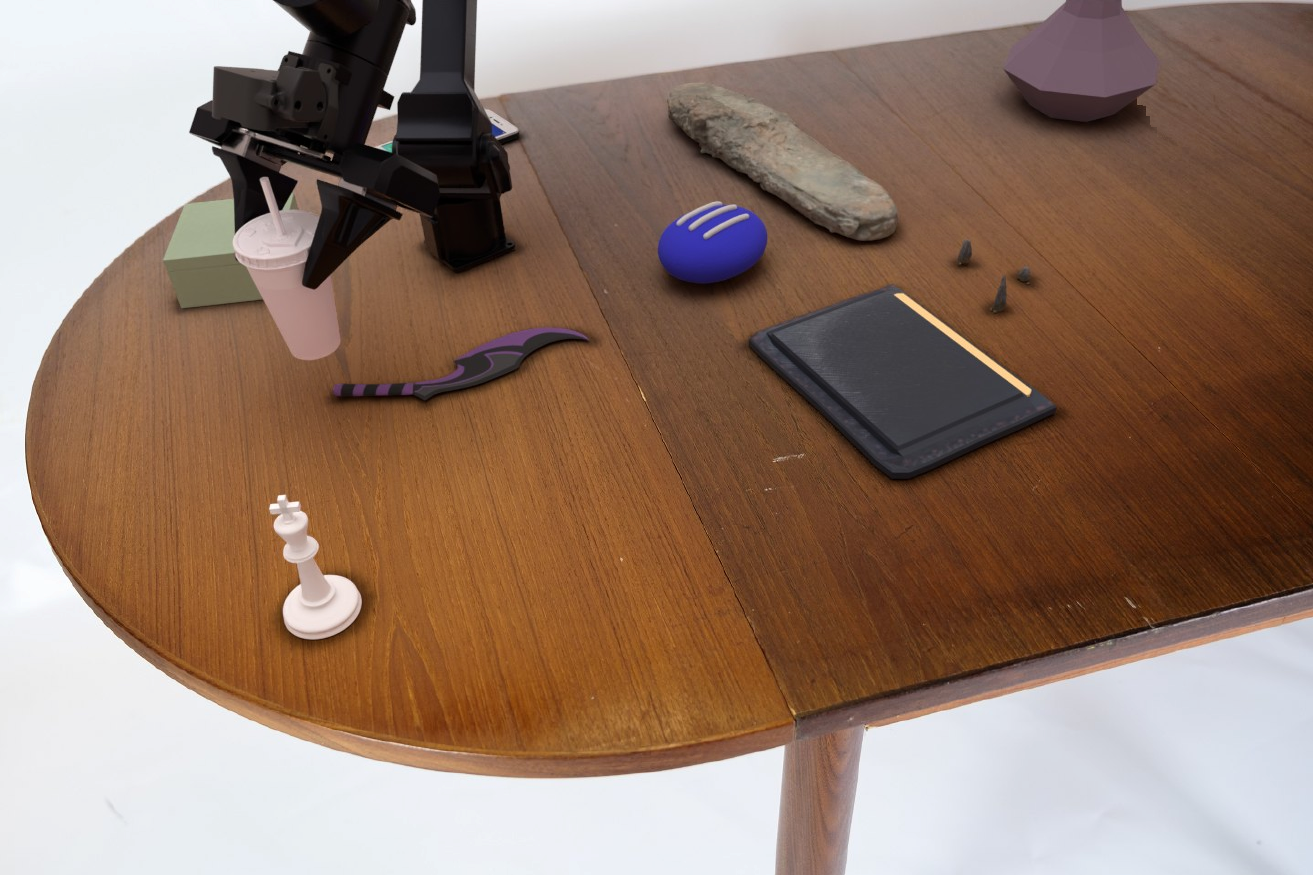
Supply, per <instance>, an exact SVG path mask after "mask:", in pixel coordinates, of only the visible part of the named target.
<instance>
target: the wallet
mask: <svg viewBox="0 0 1313 875" xmlns="http://www.w3.org/2000/svg"><path fill="white" fill-rule="evenodd" d="M748 346H749V347H750V348H751V349H752V350H753V352H755V353H756V354H757V355H758V357H759V358H760V359H761V360H762V361H764V363H766V365H768V366H769V367H770V368H771V369H772V370H773V371H774V372H775V373H777V375H779V377H781V378H782V379H783V380H784V381H785V382H787V383H788V385H790V386H791V387H792V388H793V389H794V390H795V391H796V392H797V393H799V395H801V396H802V397H803V398H804V399H805V400H806V401H807V402H808V403H810V404H811V405H812V406H813V407H814V408H815V409H816V410H817V411H818V412H819V413H820V414H821V415H822V416H823V417H824V418H825V419H827V421H828V422H830V423H831V424H832V426H833V427H835V428H836V429H837V430H838V431H839V432H840V433H841V434H842V435H843V437H844V438H846V439H847V440H848V441H849V442H850V443H851V444H852V445H853V446H854V447H855V448H857V450H858V451H859V452H860V453H861V454H862V455H863V456H864V457H865V458H866V459H868V461H870V463H871V464H872V465H874V467H875V468H877V469H878V470H880V471H881V472H882V473H883V474H885V475H886V476H887V477H888V478H890V480H891V479H893V480H894V479H895V480H898V479H899V480H900V479H901V480H902V479H903V480H909V479H911V478H915V477H916V476H919V475H921V474H924V473H927V472H930V471H931V470H934V469H935V468H939V466H943V465H944V464H946V463H948V462H950V461H952V460H955V459H957V458H959V457H961V456H963V455H966V454H968V453H970V452H972V451H974V450H976V449H978V448H980V447H983V446H985V445H988V444H990V443H992V442H994V441H996V440H999V439H1002V438H1003V437H1006V436H1008V435H1010V434H1013V433H1015V432H1018V431H1021V429H1024V428H1027V427H1028V426H1031V425H1033V424H1035V423H1036V422H1039V421H1041V420H1043V419H1046V418H1048V417H1050V416H1052V415H1055V414H1056V413H1057V410H1058V406H1057V405H1056V404H1055V403H1053V402H1052V401H1051V400H1050V399H1049V398H1047V397H1046V396H1044V394H1042V393H1041V392H1040V391H1039V390H1037V389H1036V388H1035V387H1033V386H1032V385H1030V384H1029V383H1027V382H1026V381H1025V380H1023V379H1022V378H1020V377H1019V376H1018V375H1016V374H1014V373H1013V372H1012V371H1010V370H1009V369H1008V368H1006V367H1005V366H1004V365H1003V364H1001V363H1000V362H999V361H997V360H996V359H994V358H993V357H992V356H991V355H989V354H988V353H987V352H985V351H984V350H982V349H981V348H980V347H978V346H977V345H976V344H974V342H971V341H970V340H969V339H968V338H966V337H965V336H964V335H962V334H961V333H959V332H958V331H956V330H955V329H954V328H952V327H951V326H950V325H949V324H947V323H946V322H945V321H943V320H942V319H940V318H939V317H938V316H937V315H936V314H934V313H933V312H931V310H929V309H927V308H926V307H925V306H923V305H922V304H921V303H919V302H918V301H917V300H916V299H914V298H913V297H911V295H909V294H907V293H906V292H905V291H903V290H902V289H901V288H899V287H898V286H897V285H895V284H894V283H892V284H889V285H887V286H883V287H881V288H878V289H875V290H871V291H868V292H865V293H861V294H858V295H856V296H853V297H850V298H847V299H845V300H842V301H841V300H840V301H839V302H836V303H833V304H831V305H827V306H825V307H824V306H823V307H821V308H820V309H816V310H813V311H810V312H808V313H805V314H802V315H800V316H799V315H798V316H797V317H794V318H791V319H788V320H785V321H783V322H780V323H777V324H774V325H772V326H770V327H766V328H764V329H761V330H759V331H756V332H755V333H754V334H753V335H752V336H750V338H748Z"/></svg>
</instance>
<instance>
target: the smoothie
mask: <svg viewBox="0 0 1313 875" xmlns="http://www.w3.org/2000/svg"><path fill="white" fill-rule="evenodd" d="M260 182H261V185H262V188H263V191H264V194H265V197H266V200H267V203H268V206H269V209H270V212H271V213H267V214H265V215H262V216H259V217H257V218H255V219H253V220H251V221H249V222H248V223H246V224H245V225H244V226H242V227H241V228H240V229H239V230H238V231H237V233H236V234H235V236H234V238H233V247H234V250H235V254H236V258H237V259H238V261H239V262H240V263H241V264H243V265H244V266H246V267H247V269H248V271H249V273H250V275H251V277H252V279H253V281H254V283H255V285H256V287H257V289H258V290H259V292H260V294H261V296H262V298H263V300H262V301H263V302H264V304H265V306H266V308H267V310H268V311H269V314H270V315H271V317H272V319H273V321H274V324H275V325H276V327H277V329H278V331H279V333H280V335H281V337H282V338H283V341H284V343H285V344H286V346H287V348H288V350H289V351H290V354H291V355H292V356H293V357H294V358H296V359H298V360H302V361H315V360H320V359H323V358H325V357H328V356H329V355H331V354H332V353H334V352H335V351H337V349H338V348H339V347H340V345H341V342H342V340H341V334H340V328H339V327H340V326H339V320H338V315H337V308H336V301H335V294H334V286H333V280H332V274H331V275H330V276H329V277H328V278H327V279H326V280H325V281H324V282H323V283H322V284H321V285H320V286H319V287H318V288H317V289H315V290H313V289H310V288H307V287H304V286H303V285H302V279H303V274H304V269H305V264H306V261H307V257H308V254H309V251H310V247H311V244H312V241H313V237H314V234H315V231H316V228H317V224H318V221H319V218H320V214H317V213H315V212H313V211H309V210H306V209H299V210H295V209H292V210H281V211H279V210H278V206H277V203H276V200H275V197H274V194H273V191H272V188H271V185H270V181H269V178H268V177H262V178H261V179H260Z"/></svg>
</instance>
